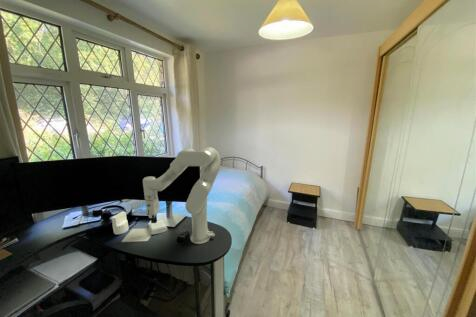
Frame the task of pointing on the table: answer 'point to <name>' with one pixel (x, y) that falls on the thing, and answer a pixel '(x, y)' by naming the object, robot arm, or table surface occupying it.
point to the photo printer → (157, 227)
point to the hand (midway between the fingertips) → (154, 222)
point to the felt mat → (138, 235)
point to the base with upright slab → (120, 223)
